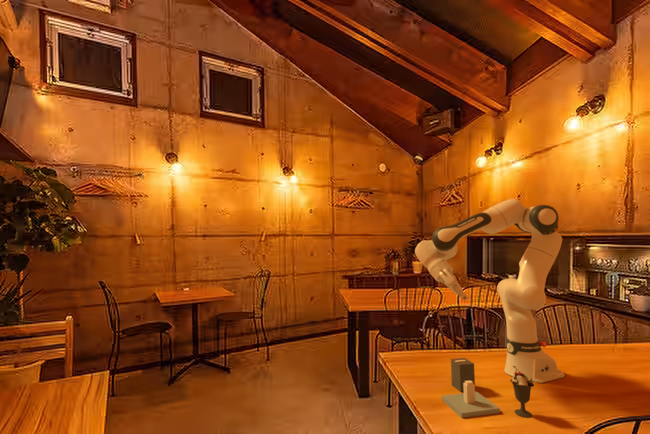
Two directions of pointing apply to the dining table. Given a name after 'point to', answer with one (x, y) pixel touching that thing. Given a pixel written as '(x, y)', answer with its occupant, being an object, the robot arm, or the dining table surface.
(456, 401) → the post
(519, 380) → the sundae
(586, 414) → the dining table surface
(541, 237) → the robot arm
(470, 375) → the slotted ballot box
